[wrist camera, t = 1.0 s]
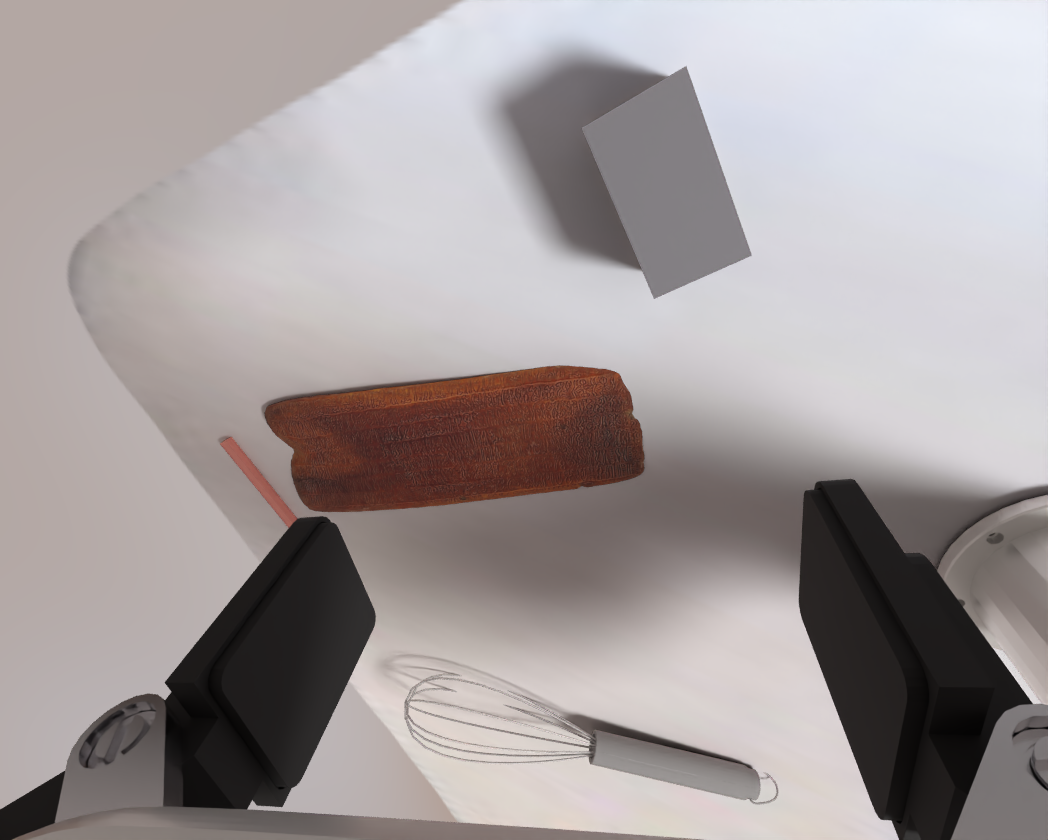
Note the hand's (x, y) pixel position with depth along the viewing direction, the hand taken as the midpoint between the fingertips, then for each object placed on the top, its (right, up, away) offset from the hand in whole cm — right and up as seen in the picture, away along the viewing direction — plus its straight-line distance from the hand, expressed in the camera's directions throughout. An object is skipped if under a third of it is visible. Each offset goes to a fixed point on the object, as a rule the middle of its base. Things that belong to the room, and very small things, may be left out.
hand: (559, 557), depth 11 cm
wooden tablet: (-6, +1, +28) cm, 28 cm away
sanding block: (+6, +15, +17) cm, 24 cm away
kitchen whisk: (+5, -24, +39) cm, 46 cm away
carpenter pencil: (-21, -3, +32) cm, 38 cm away
